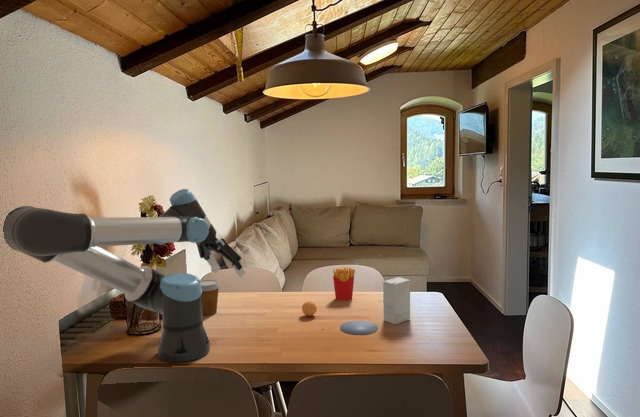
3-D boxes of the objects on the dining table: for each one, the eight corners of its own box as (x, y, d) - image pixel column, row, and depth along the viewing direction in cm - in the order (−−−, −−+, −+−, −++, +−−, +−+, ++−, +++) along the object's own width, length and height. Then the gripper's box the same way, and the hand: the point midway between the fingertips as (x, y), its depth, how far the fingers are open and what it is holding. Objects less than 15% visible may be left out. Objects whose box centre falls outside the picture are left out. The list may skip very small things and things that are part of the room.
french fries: (333, 300, 189) (333, 269, 188) (333, 297, 194) (333, 267, 192) (355, 300, 189) (355, 269, 188) (355, 297, 193) (354, 266, 192)
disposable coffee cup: (224, 309, 181) (222, 279, 179) (216, 317, 171) (214, 286, 170) (200, 309, 182) (199, 279, 180) (191, 317, 172) (190, 285, 171)
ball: (310, 319, 167) (310, 304, 167) (299, 316, 171) (298, 301, 170) (319, 315, 172) (319, 300, 171) (308, 312, 175) (308, 298, 174)
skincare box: (398, 315, 169) (398, 276, 168) (411, 320, 164) (411, 279, 163) (382, 320, 164) (382, 280, 163) (394, 325, 159) (394, 283, 158)
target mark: (364, 337, 149) (364, 337, 148) (332, 329, 156) (332, 328, 156) (385, 326, 159) (385, 325, 159) (353, 318, 167) (353, 318, 167)
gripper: (232, 223, 153) (259, 269, 164) (186, 220, 168) (214, 262, 179) (218, 238, 149) (247, 284, 159) (172, 233, 164) (202, 276, 175)
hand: (230, 273), depth 169 cm, fingers open, 13 cm apart
